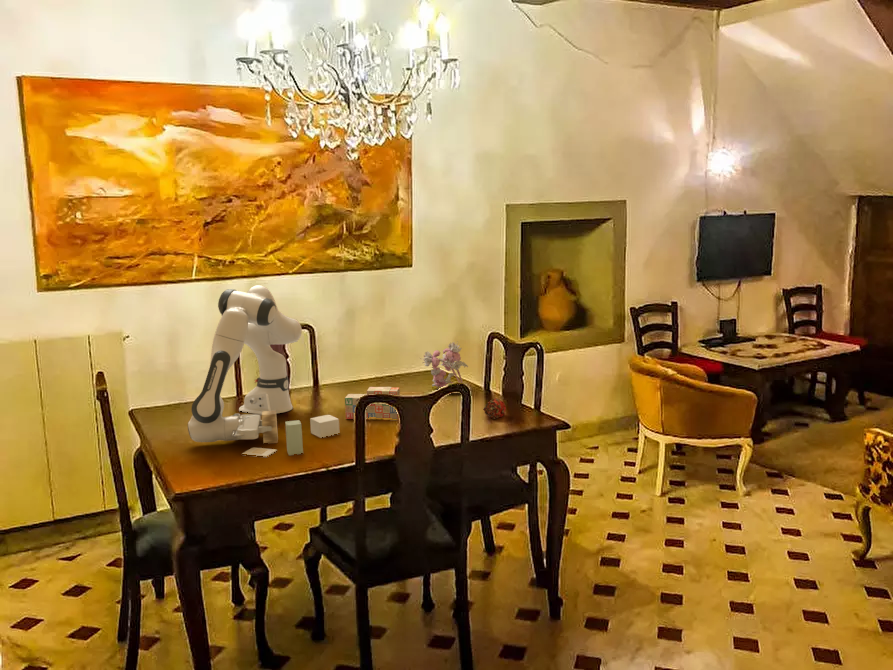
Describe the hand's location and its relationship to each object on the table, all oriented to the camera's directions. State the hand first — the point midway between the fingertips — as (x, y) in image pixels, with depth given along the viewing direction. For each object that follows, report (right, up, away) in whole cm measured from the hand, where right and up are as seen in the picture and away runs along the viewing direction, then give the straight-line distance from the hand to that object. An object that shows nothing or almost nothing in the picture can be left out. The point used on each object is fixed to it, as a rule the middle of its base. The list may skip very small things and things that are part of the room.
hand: (272, 425), depth 318 cm
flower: (+64, +8, +66) cm, 92 cm away
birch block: (-1, -6, +1) cm, 6 cm away
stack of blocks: (+35, 0, +27) cm, 45 cm away
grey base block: (+18, -4, +9) cm, 21 cm away
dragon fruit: (+84, +1, +23) cm, 87 cm away
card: (-2, -9, -12) cm, 15 cm away
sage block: (+11, -8, -13) cm, 18 cm away
